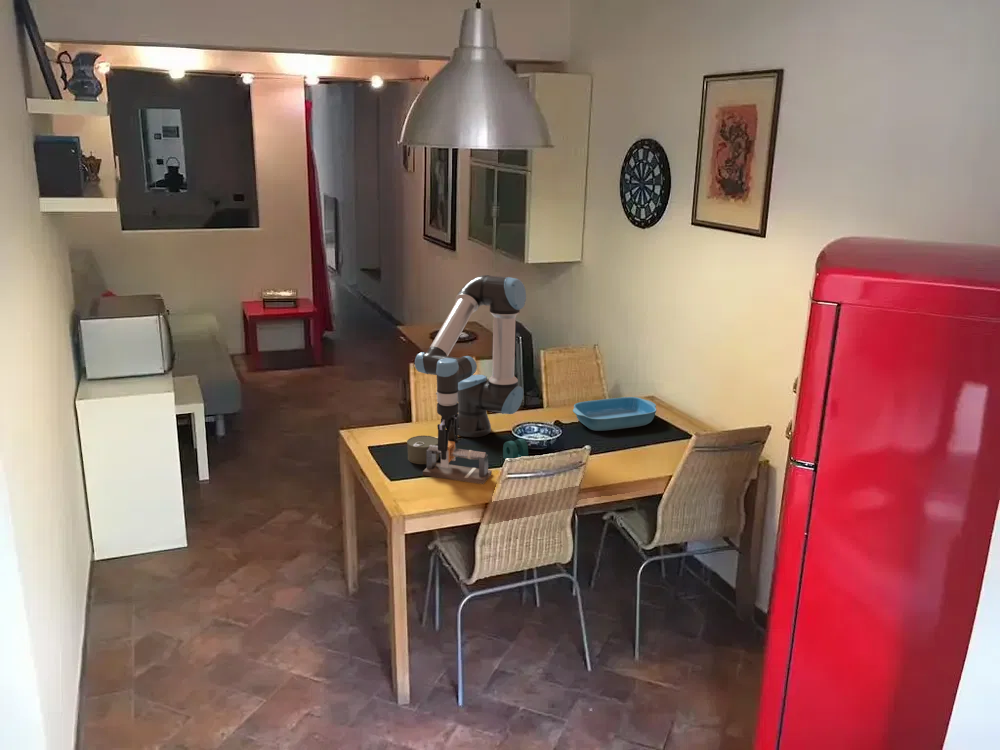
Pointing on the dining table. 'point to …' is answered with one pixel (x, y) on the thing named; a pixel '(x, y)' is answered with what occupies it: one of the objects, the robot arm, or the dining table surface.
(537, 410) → the dining table surface
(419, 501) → the dining table surface
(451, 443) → the collar
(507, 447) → the bracket
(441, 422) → the robot arm
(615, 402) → the casserole dish
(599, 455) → the dining table surface
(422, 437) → the can
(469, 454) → the pipe stand
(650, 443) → the dining table surface
